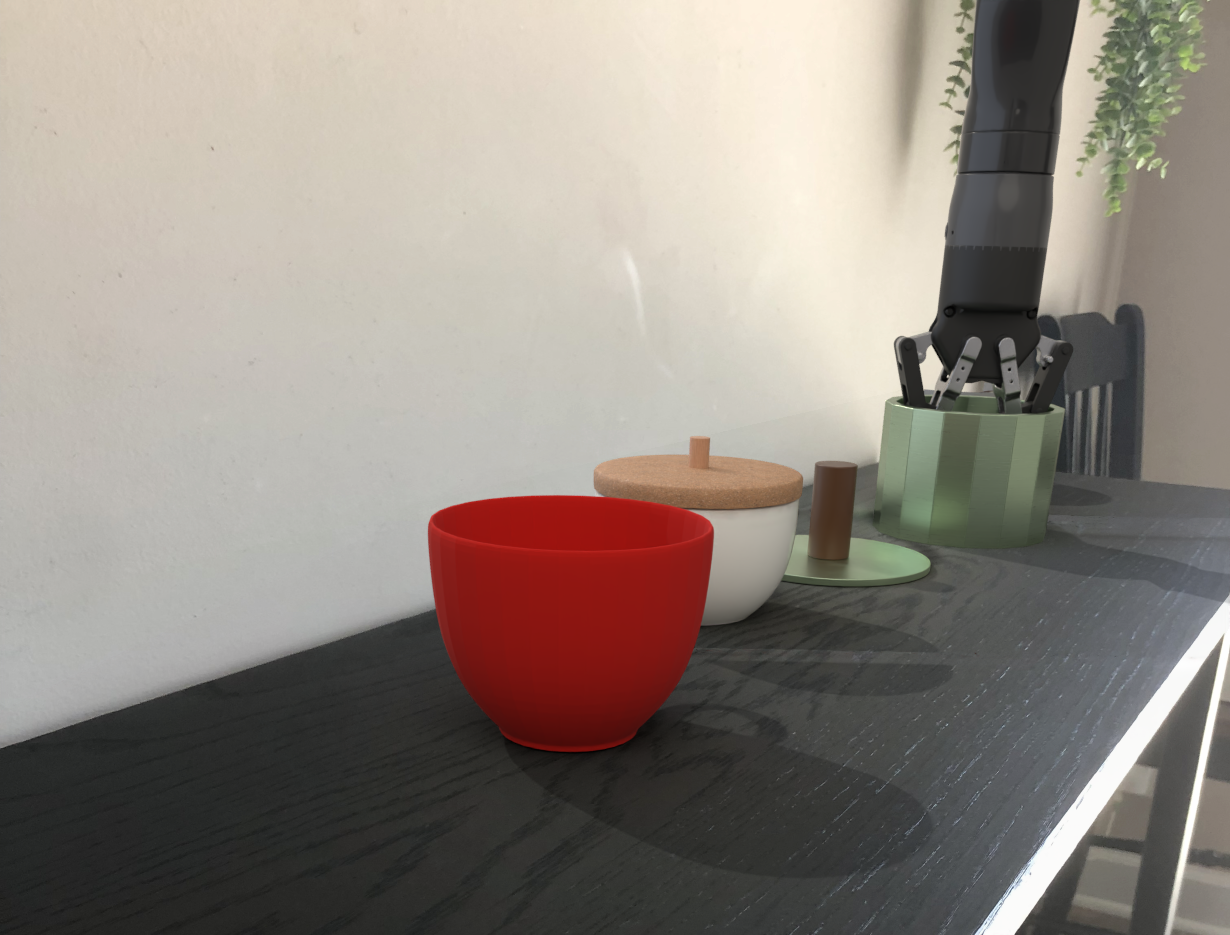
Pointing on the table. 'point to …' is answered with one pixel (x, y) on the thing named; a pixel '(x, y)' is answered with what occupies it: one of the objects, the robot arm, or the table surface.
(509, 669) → the ceramic cup
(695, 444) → the lidded bowl
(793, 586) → the table surface
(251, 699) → the table surface
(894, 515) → the tin
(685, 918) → the table surface
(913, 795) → the table surface
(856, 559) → the lid
